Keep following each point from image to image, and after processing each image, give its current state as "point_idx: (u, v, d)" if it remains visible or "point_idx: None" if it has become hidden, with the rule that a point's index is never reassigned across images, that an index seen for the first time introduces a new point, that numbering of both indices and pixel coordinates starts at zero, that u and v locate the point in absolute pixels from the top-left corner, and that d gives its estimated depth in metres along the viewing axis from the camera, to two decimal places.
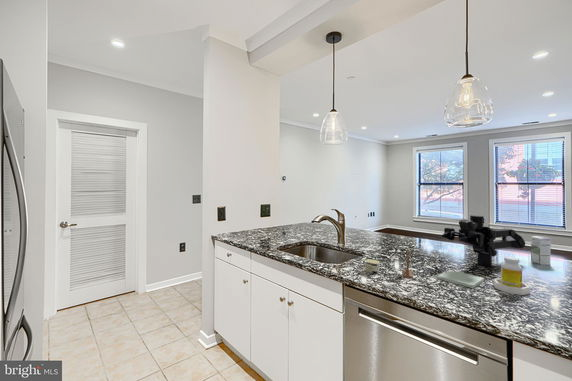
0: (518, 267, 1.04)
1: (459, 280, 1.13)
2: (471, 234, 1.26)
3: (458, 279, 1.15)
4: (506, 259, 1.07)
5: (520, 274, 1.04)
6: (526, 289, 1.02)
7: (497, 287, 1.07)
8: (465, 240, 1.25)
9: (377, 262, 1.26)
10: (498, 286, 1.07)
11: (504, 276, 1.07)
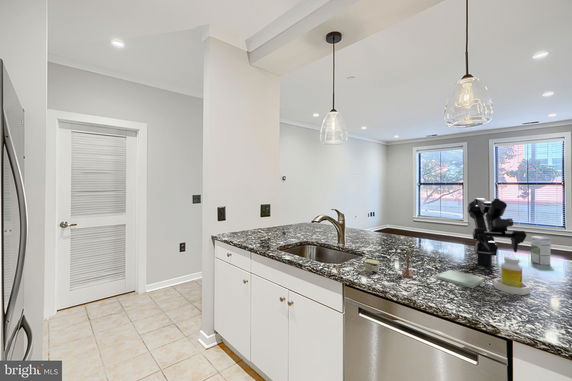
0: (518, 267, 1.04)
1: (459, 280, 1.13)
2: (517, 237, 1.15)
3: (458, 279, 1.15)
4: (506, 259, 1.07)
5: (520, 274, 1.04)
6: (526, 289, 1.02)
7: (497, 287, 1.07)
8: (516, 247, 1.15)
9: (377, 262, 1.26)
10: (498, 286, 1.07)
11: (503, 276, 1.07)
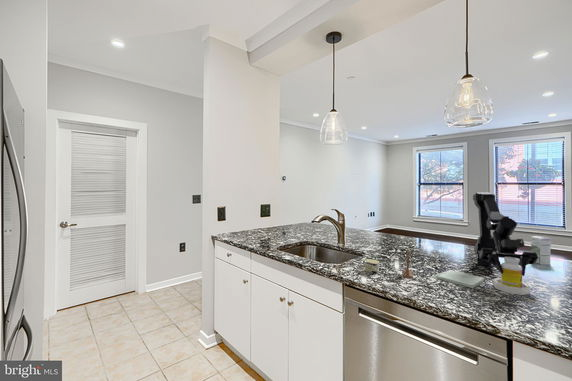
0: (518, 267, 1.04)
1: (459, 280, 1.13)
2: (525, 259, 1.06)
3: (458, 279, 1.15)
4: (506, 259, 1.07)
5: (520, 274, 1.04)
6: (526, 289, 1.02)
7: (497, 287, 1.07)
8: None
9: (377, 262, 1.26)
10: (498, 286, 1.07)
11: (504, 276, 1.07)
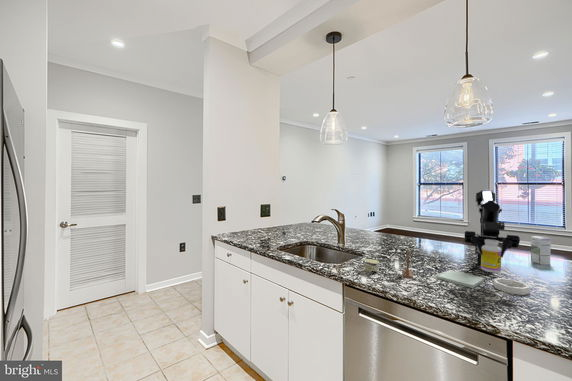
0: (496, 248, 1.07)
1: (459, 280, 1.13)
2: (506, 241, 1.08)
3: (458, 279, 1.15)
4: (485, 241, 1.10)
5: (498, 255, 1.07)
6: (526, 289, 1.02)
7: (497, 287, 1.07)
8: (504, 252, 1.08)
9: (376, 262, 1.26)
10: (498, 286, 1.07)
11: (482, 257, 1.11)
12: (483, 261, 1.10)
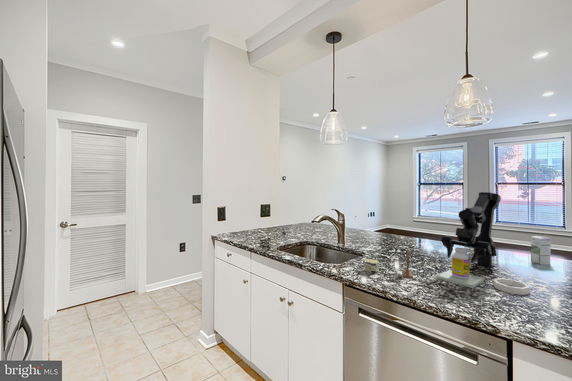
0: (462, 256, 1.15)
1: (459, 280, 1.13)
2: (478, 248, 1.13)
3: (458, 279, 1.15)
4: (455, 249, 1.19)
5: (464, 263, 1.15)
6: (526, 289, 1.02)
7: (497, 287, 1.07)
8: (476, 258, 1.14)
9: (376, 262, 1.26)
10: (498, 286, 1.07)
11: (452, 263, 1.19)
12: (452, 267, 1.19)
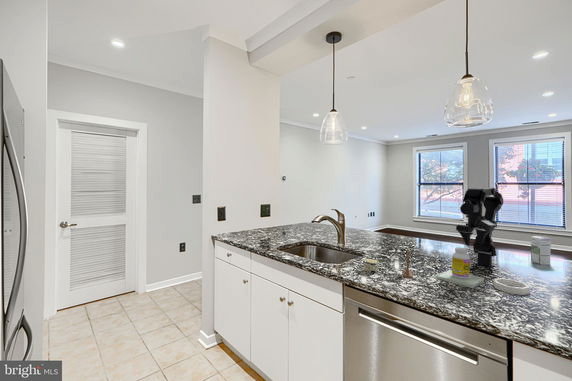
0: (462, 256, 1.15)
1: (459, 280, 1.13)
2: (487, 232, 1.29)
3: (458, 279, 1.15)
4: (455, 249, 1.19)
5: (464, 263, 1.15)
6: (526, 289, 1.02)
7: (497, 287, 1.07)
8: None
9: (375, 261, 1.27)
10: (498, 286, 1.07)
11: (452, 263, 1.19)
12: (452, 267, 1.19)
